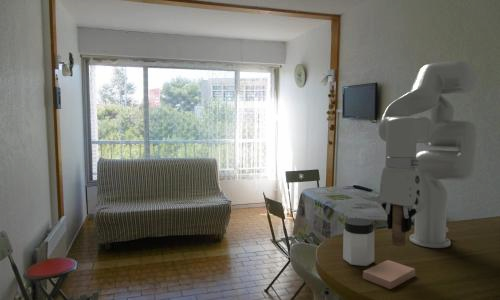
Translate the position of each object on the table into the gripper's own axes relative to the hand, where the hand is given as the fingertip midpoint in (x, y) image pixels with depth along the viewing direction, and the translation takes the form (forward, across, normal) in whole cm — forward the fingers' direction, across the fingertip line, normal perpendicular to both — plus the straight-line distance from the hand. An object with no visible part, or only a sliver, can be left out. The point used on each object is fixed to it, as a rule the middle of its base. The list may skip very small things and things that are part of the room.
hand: (398, 229), depth 98 cm
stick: (+4, 0, 0) cm, 4 cm away
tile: (+11, 0, -2) cm, 11 cm away
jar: (+12, +12, +1) cm, 17 cm away
